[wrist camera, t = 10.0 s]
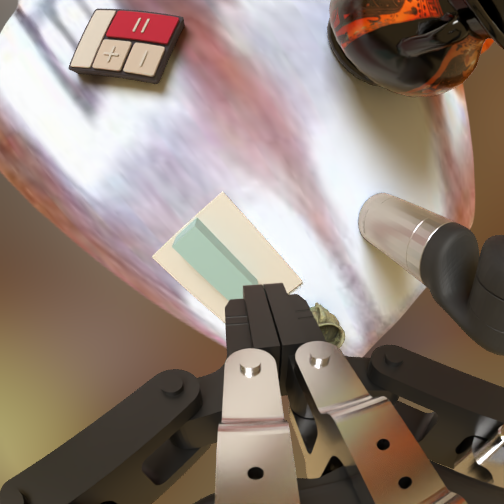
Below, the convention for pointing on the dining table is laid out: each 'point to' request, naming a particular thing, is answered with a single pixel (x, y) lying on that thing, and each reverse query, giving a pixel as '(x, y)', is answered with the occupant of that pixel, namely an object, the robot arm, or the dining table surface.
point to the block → (213, 260)
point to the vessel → (328, 325)
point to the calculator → (127, 44)
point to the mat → (238, 243)
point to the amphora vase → (413, 41)
